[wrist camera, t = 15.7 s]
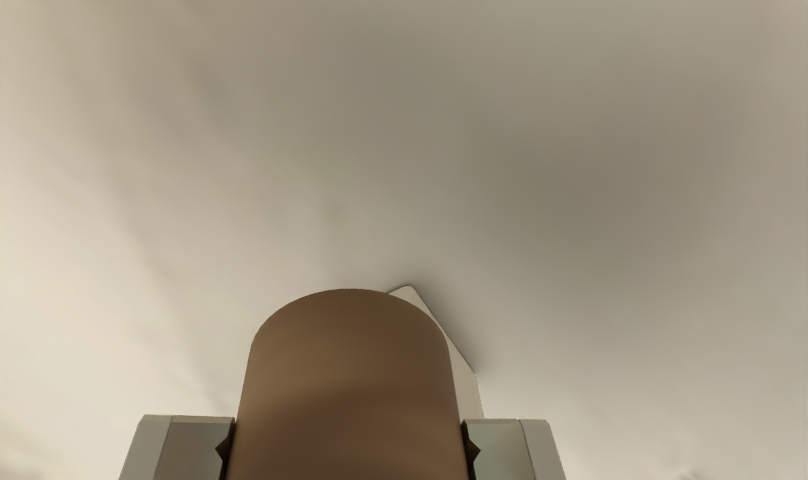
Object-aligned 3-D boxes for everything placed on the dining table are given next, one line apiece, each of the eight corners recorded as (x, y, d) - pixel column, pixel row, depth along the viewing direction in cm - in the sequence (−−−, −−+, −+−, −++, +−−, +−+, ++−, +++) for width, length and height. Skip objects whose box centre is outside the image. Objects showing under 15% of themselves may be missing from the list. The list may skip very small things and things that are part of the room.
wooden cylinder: (462, 292, 12) (508, 514, 8) (437, 431, 14) (464, 655, 11) (243, 284, 12) (189, 515, 8) (254, 429, 14) (215, 661, 10)
